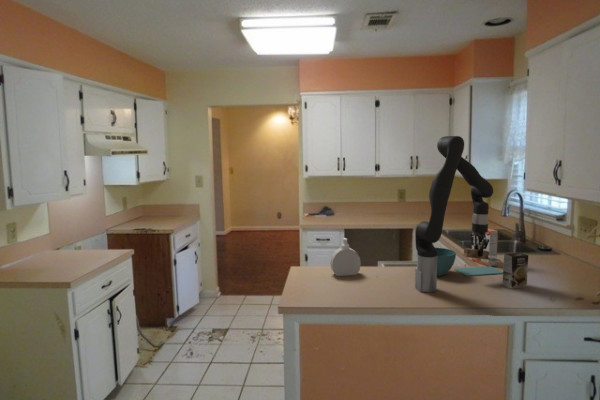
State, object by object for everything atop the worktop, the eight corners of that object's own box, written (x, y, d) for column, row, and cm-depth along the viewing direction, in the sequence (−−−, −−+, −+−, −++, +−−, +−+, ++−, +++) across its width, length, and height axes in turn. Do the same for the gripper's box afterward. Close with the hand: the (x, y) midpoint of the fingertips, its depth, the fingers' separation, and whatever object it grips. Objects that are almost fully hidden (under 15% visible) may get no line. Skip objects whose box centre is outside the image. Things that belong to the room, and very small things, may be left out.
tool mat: (465, 276, 210) (466, 275, 210) (454, 269, 222) (454, 268, 222) (503, 273, 213) (503, 272, 213) (490, 267, 225) (490, 266, 225)
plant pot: (413, 272, 218) (413, 251, 217) (432, 266, 229) (433, 245, 228) (442, 281, 204) (443, 258, 202) (461, 273, 215) (462, 251, 213)
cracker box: (470, 260, 239) (472, 226, 236) (479, 259, 241) (480, 225, 238) (488, 267, 226) (489, 231, 223) (496, 265, 228) (498, 230, 225)
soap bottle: (358, 271, 222) (358, 237, 219) (360, 274, 217) (360, 239, 214) (330, 273, 220) (329, 238, 217) (332, 276, 215) (331, 240, 212)
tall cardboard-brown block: (468, 258, 199) (470, 250, 198) (461, 254, 206) (462, 247, 205) (500, 261, 202) (502, 254, 201) (492, 258, 208) (493, 250, 208)
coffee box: (512, 289, 190) (513, 256, 188) (501, 284, 197) (503, 253, 195) (527, 287, 193) (529, 255, 191) (516, 282, 199) (518, 251, 197)
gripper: (465, 220, 207) (463, 252, 210) (481, 225, 194) (479, 259, 196) (478, 219, 208) (477, 251, 211) (495, 224, 195) (493, 258, 197)
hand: (478, 255), depth 203 cm, fingers closed on tall cardboard-brown block, 3 cm apart
